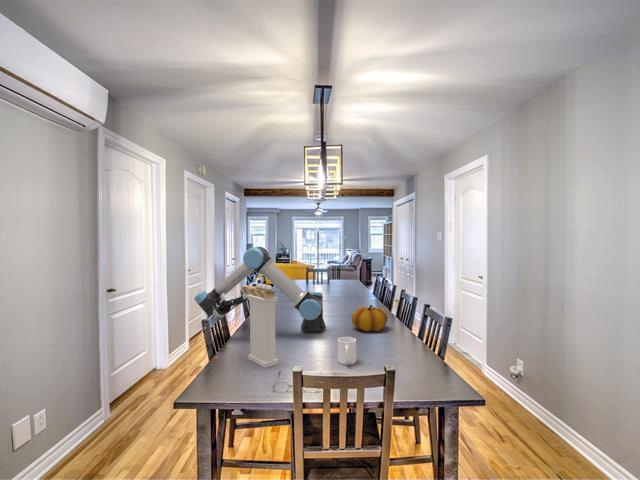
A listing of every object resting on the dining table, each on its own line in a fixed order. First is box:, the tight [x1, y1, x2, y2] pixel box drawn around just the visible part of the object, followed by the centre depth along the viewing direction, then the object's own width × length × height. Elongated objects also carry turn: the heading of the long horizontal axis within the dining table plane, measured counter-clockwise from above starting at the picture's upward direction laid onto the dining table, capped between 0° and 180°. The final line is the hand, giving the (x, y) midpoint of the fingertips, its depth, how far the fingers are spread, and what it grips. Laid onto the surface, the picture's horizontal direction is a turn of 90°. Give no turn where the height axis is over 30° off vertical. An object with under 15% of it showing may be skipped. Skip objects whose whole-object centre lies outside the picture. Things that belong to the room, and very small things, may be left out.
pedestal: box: [247, 295, 279, 369], centre depth 160 cm, size 15×7×30 cm, turn 39°
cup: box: [337, 336, 357, 366], centre depth 157 cm, size 8×12×10 cm
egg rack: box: [240, 282, 275, 299], centre depth 163 cm, size 24×4×6 cm, turn 39°
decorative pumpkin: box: [351, 304, 388, 333], centre depth 211 cm, size 20×22×15 cm
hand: (236, 294), depth 180 cm, fingers open, 13 cm apart
